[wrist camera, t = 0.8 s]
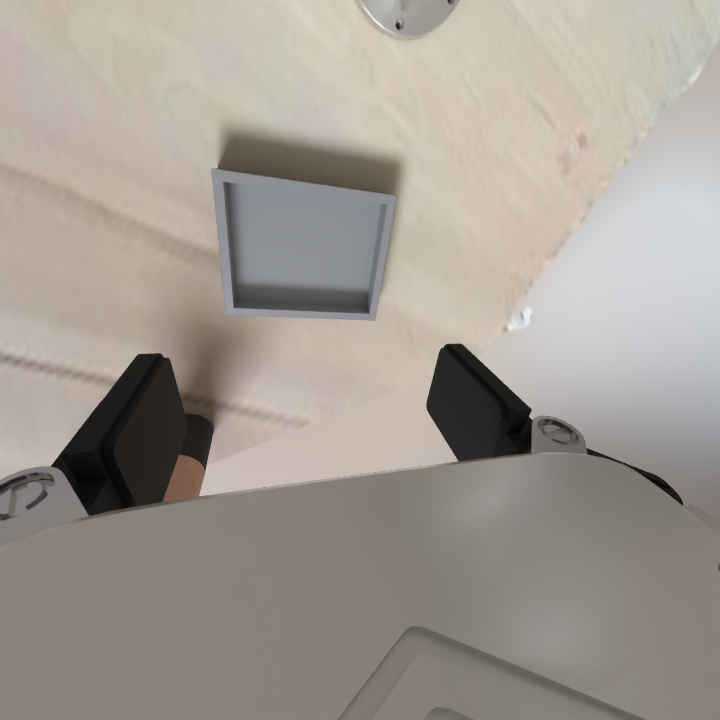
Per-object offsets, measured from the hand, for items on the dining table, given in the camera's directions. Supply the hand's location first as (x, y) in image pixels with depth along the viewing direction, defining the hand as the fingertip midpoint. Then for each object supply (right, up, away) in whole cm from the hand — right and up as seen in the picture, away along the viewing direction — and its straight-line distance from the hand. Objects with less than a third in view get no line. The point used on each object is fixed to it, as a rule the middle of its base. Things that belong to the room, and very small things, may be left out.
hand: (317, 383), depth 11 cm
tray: (-6, +15, +29) cm, 33 cm away
